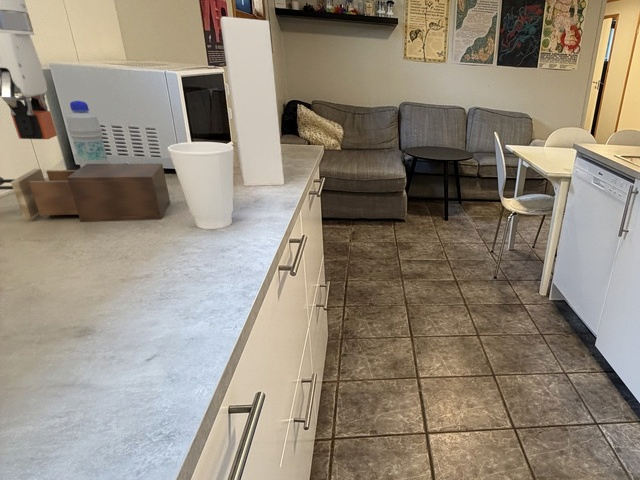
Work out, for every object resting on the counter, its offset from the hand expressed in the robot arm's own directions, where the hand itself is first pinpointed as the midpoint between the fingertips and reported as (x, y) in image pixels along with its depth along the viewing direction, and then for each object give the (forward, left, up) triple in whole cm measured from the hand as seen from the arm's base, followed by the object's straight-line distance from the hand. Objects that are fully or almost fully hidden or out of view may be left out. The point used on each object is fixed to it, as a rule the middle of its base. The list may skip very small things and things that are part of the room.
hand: (37, 135), depth 88 cm
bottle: (-1, +31, -17) cm, 35 cm away
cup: (+28, -4, -17) cm, 33 cm away
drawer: (-3, +7, -16) cm, 18 cm away
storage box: (+37, +38, -17) cm, 56 cm away
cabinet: (+10, +7, -17) cm, 21 cm away
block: (0, 0, 0) cm, 0 cm away
